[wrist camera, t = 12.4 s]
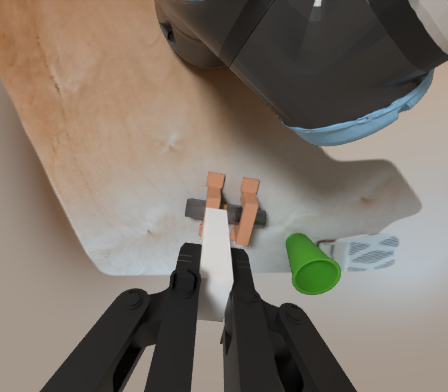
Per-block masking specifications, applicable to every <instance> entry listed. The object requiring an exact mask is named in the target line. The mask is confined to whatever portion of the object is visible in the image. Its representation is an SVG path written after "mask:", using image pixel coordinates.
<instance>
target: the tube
mask: <svg viewBox="0 0 448 392" xmlns="http://www.w3.org/2000/svg"><path fill="white" fill-rule="evenodd" d="M205 208H206V201H205V200H198V199H188V200H187V204H186V211H185V217H192V218H199V219H204V214H205ZM219 209H221V210H227V217H228V223H235V224H239V223H240V219H241V215H242V211H243V208H242V206H238V205H231V204H225V203H220V206H219ZM265 221H266V211H265V210H261V209H258V210H257V213H256V217H255V221H254V224H253V226H256V227H264V225H265Z"/></svg>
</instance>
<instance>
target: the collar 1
mask: <svg viewBox="0 0 448 392" xmlns="http://www.w3.org/2000/svg"><path fill="white" fill-rule="evenodd" d="M224 176H225V174H219V173H213V172H208V178H207V185H206V186H208V191H207V200H206V207H207V208H214V209H219V206H220V201H221V194H220V188H222V187H223V182H224ZM205 212H206V208H205ZM204 218H205V214H204ZM203 225H204V219H203V223H202V224H200V230H199V236H201V237H202V231H203Z"/></svg>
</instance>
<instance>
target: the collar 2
mask: <svg viewBox="0 0 448 392" xmlns="http://www.w3.org/2000/svg"><path fill="white" fill-rule="evenodd" d="M258 184H259V180H257V179H250V178H244V177H243V181H242V185H241V191H242V194H241V198H240V200H241V204H242V208H243V211H242V215H241V219H240V223H239V224H234V228H232V229H231V234H230V240H235V242H236V244H238V245H246V246H248V242H249V239H250V235H251V232H252V228H253V224H254V221H255V217H256V213H257V210H258V206H259V204H258V202H257V199H256V197H255V194H256V192H257V188H258ZM254 193H255V194H254Z"/></svg>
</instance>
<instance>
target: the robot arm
mask: <svg viewBox="0 0 448 392" xmlns="http://www.w3.org/2000/svg"><path fill="white" fill-rule="evenodd" d="M154 1H155V9H156V14H157V18H158V21H159V24H160V27H161V30H162V32H163V34H164V36H165V38H166V39H167V41H168V43H169V44H170V45H171V47H172V48H173V49H174V50H175V52H176V53H177V54H178V55H179V56H180V57H181V58H183V59H184V60H185V61H186V62H188V63H190V64H191V65H193V66H196V67H198V68H202V69H208V70H215V69H221V68H225V67H227V66H228V67H229V69H230V70H231V71H232V72H233V73H234V74H235V75H236V76H237V77H238V78H239V79H240V80H242V81H243V82H244V83H245V84H246V85H247V86H248V87H249V88H250V89H251V90H252V91H253V92H254V93H255V94H256V95H257V96H258V97H259V98H260V99H261V100H262V101H263V102H264V103H265V104H266V105H267V106H268V107H269V108H270V109H271V110H272V111H274V112H275V113H276V114H277V115H278V116H279V119H280V121H281V122H282V124H283V125H284V126H286V127H288V128H289V129H291V130H293V131H294V132H295V133H297V134H298V135H299V136H300V137H301V138H302V139H304V140H305V141H306V142H309V143H311V144H313V145H317V146H335V145H341V144H346V143H349V142H353V141H356V140H359V139H361V138H364V137H367V136H368V135H371V134H373V133H375V132H377V131H379V130H381V129H383V128H384V127H386V126H388V125H389V124H391V123H393V122H394V121H395V120H397V119H398V113H400V112H402V111H406V110H410V109H411V108H412V107H413V106H414V105H415V104H417V103H418V101H419V100H420V99H421V98H422V97H423V96H424V94H425V93H426V92H427V90H428V88H429V86H430V85H431V83H432V79H433V73H434V68H435V67H437V66H439V65H441V64H442V63H444V62H446V61H448V0H154ZM224 317H225V326H224V330H223V333H222V337H221V341H220V344H222V343H223V358H224V392H357V391H356V389H355V388H354V386H353V385H352V383H351V382H350V380H349V379H348V377H347V376H346V374H345V373H344V371H343V370H342V368H341V366H340V365H339V363H338V362H337V360H336V359H335V357H334V356H333V354H332V353H331V351H330V350H329V348H328V346H327V345H326V343H325V342H324V340H323V339H322V337H321V336H320V334H319V333H318V331H317V330H316V328H315V327H314V325H313V324H312V322H311V320H310V319H309V317H308V316H307V314H306V313H305V312H304V311H303V310H302V309H301V308H300V307H298V306H297V305H294V304H292V303H284V304H282V305H281V306H280V307H279V308H278V307H276V306H274V305H271V304H268V303H267V302H265V301H263V300H262V299H261V297H260V295H259V294H258V293H257V292H256V290H255V288H254V283H253V278H252V273H251V269H250V263H249V258H248V255H247V253H246V252H245V251H244V249H238V248H230V238H229V228H228V217H227V210H221V209H214V208H207V207H206V212H205V218H204V225H203V231H202V237H201V244H193V243H185V244H184V245H183V246H182V247H181V248H180V252H179V256H178V261H177V265H176V269H175V270H174V271H173V272H172V274H171V276H170V285H169V287H168V288H167V289H166V290H164V291H162V292H159V293H156V294H151V295H148V294H147V292H146V291H144V290H142V289H137V288H135V289H129V290H126V291H124V292H123V293H121V294H120V295H119V296H118V297H117V298H116V299H115V300H114V302H113V303H112V304H111V305H110V307H109V308H108V309H107V310H106V311H105V313H104V314H103V315H102V316H101V317H100V319H99V320H98V321H97V322H96V324H95V325H94V326H93V327H92V328H91V330H90V331H89V332H88V333H87V335H86V336H85V337H84V338H83V339H82V341H81V342H80V343H79V344H78V346H77V347H76V348H75V349H74V350H73V352H72V353H71V354H70V355H69V356H68V358H67V359H66V360H65V361H64V363H63V364H62V365H61V366H60V368H59V369H58V370H57V371H56V372H55V374H54V375H53V376H52V377H51V379H50V380H49V381H48V382H47V383H46V385H45V386H44V387H43V388H42V389H41V391H40V392H122V391H123V389H124V387H125V386H126V384H127V382H128V380H129V378H130V376H131V374H132V372H133V370H134V368H135V367H136V365H137V363H138V361H139V359H140V357H141V355H142V353H143V352H144V350H145V348H146V347H147V346H150V345H154V344H156V346H155V349H154V353H153V358H152V362H151V366H150V370H149V374H148V378H147V383H146V386H145V390H144V392H190V391H191V380H192V370H193V358H194V346H195V335H196V322H197V320H208V321H219V322H223V319H224Z"/></svg>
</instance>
